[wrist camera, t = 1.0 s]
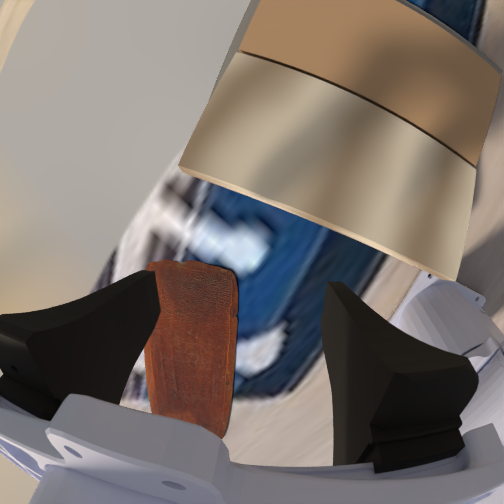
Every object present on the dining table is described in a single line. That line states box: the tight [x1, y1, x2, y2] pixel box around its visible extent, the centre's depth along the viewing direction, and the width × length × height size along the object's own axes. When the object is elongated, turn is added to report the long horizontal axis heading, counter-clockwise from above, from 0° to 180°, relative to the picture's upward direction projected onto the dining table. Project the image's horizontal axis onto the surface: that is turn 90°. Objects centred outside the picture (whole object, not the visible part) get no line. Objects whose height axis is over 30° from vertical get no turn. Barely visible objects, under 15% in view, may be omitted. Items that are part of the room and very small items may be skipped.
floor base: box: [209, 0, 502, 168], centre depth 16 cm, size 20×19×2 cm
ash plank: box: [178, 52, 476, 281], centre depth 16 cm, size 18×8×2 cm, turn 70°
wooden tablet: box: [144, 260, 238, 439], centre depth 29 cm, size 27×10×2 cm, turn 172°
